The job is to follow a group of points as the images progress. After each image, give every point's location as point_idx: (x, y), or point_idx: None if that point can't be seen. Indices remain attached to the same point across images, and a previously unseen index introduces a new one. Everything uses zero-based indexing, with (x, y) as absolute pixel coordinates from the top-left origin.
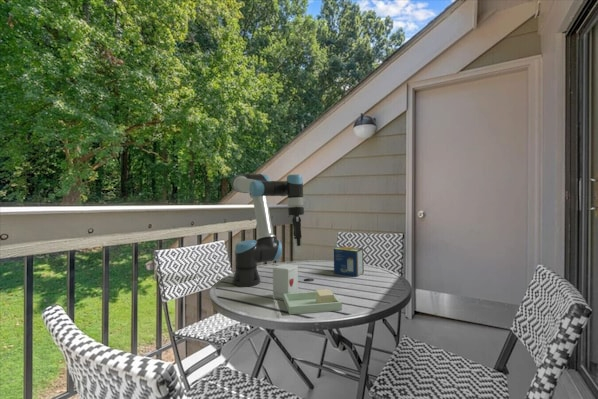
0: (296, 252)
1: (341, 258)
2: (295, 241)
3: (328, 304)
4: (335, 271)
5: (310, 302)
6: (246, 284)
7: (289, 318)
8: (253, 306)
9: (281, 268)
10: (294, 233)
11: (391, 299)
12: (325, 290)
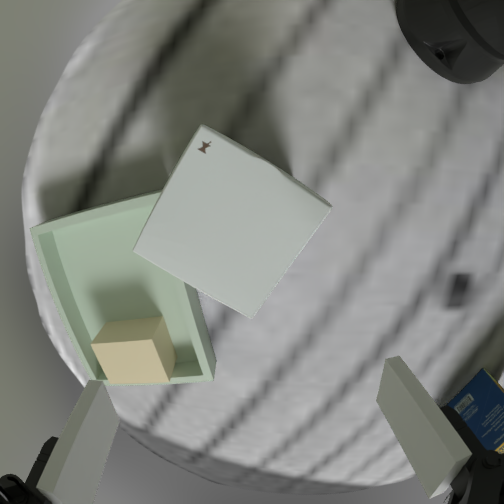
0: (88, 387)
1: (486, 423)
2: (50, 464)
3: (77, 350)
4: (482, 376)
5: (148, 296)
6: (402, 18)
7: (39, 221)
8: (134, 71)
9: (161, 199)
10: (465, 500)
11: (214, 469)
12: (151, 370)
